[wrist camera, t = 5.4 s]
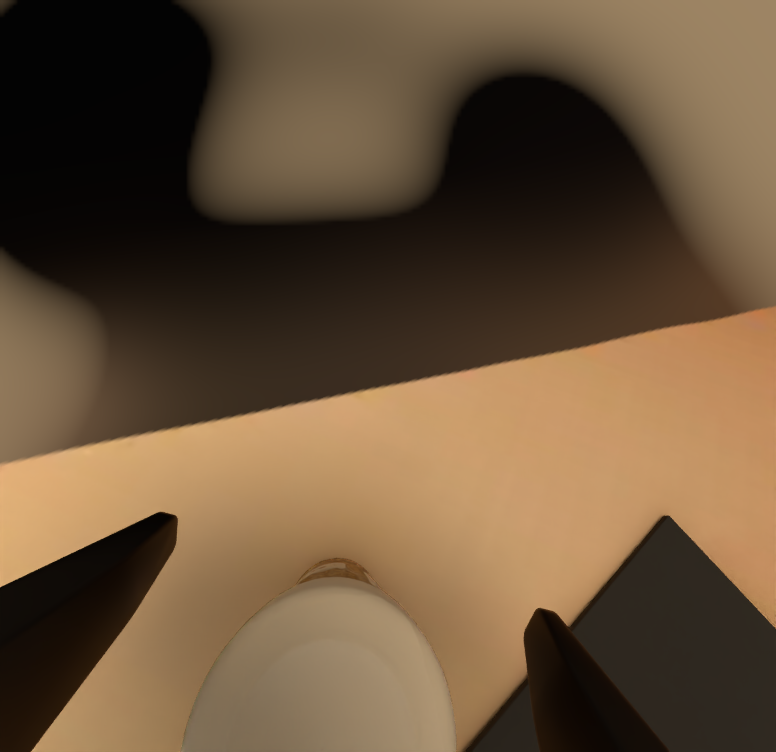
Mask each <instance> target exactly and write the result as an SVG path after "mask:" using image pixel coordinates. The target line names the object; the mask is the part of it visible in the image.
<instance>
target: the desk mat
mask: <svg viewBox="0 0 776 752" xmlns="http://www.w3.org/2000/svg"><path fill="white" fill-rule="evenodd" d="M569 629H570V630H571V632H572V633H573V634H574V635H575V636H576V638H577V639H578V640H579V641H580V643H581V644H582V645H583V646H584V647H585V649H586V650H587V651H588V652H589V653H590V655H591V656H592V657H593V658H594V660H595V661H596V662H597V663H598V664H599V666H600V667H601V668H602V669H603V670H604V672H605V673H606V674H607V675H608V677H609V678H610V679H611V680H612V681H613V683H614V684H615V685H616V686H617V688H618V689H619V690H620V691H621V692H622V694H623V695H624V696H625V697H626V698H627V700H628V701H629V702H630V703H631V705H632V706H633V707H634V708H635V709H636V711H637V712H638V713H639V714H640V715H641V717H642V718H643V719H644V720H645V722H646V723H647V724H648V725H649V726H650V728H651V729H652V730H653V731H654V733H655V734H656V735H657V736H658V737H659V739H660V740H661V741H662V742H663V743H664V745H665V746H666V747H667V748H668V750H669V751H670V752H776V629H775V628H774V626H773V625H772V624H771V623H770V622H769V621H768V620H767V619H766V618H765V617H764V616H763V615H762V614H761V613H760V612H759V611H758V609H757V608H756V607H755V606H754V605H753V604H752V603H751V602H750V601H749V600H748V599H747V598H746V597H745V596H744V595H743V594H742V592H741V591H740V590H739V589H738V588H737V587H736V586H735V585H734V584H733V583H732V582H731V581H730V580H729V579H728V578H727V577H726V576H725V574H724V573H723V572H722V571H721V570H720V569H719V568H718V567H717V566H716V565H715V564H714V563H713V562H712V561H711V560H710V559H709V557H708V556H707V555H706V554H705V553H704V552H703V551H702V550H701V549H700V548H699V547H698V546H697V545H696V544H695V543H694V542H693V540H692V539H691V538H690V537H689V536H688V535H687V534H686V533H685V532H684V531H683V530H682V529H681V528H680V527H679V526H678V525H677V523H676V522H675V521H674V520H673V519H672V518H671V517H670V516H664V517H663V518H662V519H661V520H660V521H659V523H658V524H657V525H656V526H655V527H654V528H653V530H652V531H651V532H650V533H649V534H648V536H647V537H646V538H645V539H644V540H643V541H642V543H641V544H640V545H639V546H638V547H637V549H636V550H635V551H634V552H633V553H632V555H631V556H630V557H629V558H628V559H627V560H626V562H625V563H624V564H623V565H622V566H621V568H620V569H619V570H618V571H617V572H616V574H615V575H614V576H613V577H612V578H611V579H610V581H609V582H608V583H607V584H606V585H605V587H604V588H603V589H602V590H601V591H600V593H599V594H598V595H597V596H596V597H595V598H594V600H593V601H592V602H591V603H590V604H589V606H588V607H587V608H586V609H585V610H584V611H583V613H582V614H581V615H580V616H579V617H578V619H577V620H576V621H575V622H574V623H573V625H572V626H571V627H570V628H569ZM466 752H540V750H539V745H538V740H537V735H536V730H535V725H534V720H533V713H532V706H531V698H530V690H529V681H528V678H527V679H526V680H525V681H524V683H523V684H522V685H521V686H520V687H519V689H518V690H517V691H516V692H515V693H514V695H513V696H512V697H511V698H510V699H509V700H508V702H507V703H506V704H505V705H504V706H503V708H502V709H501V710H500V711H499V712H498V714H497V715H496V716H495V717H494V718H493V719H492V721H491V722H490V723H489V724H488V725H487V727H486V728H485V729H484V730H483V731H482V733H481V734H480V735H479V736H478V737H477V738H476V740H475V741H474V742H473V743H472V744H471V746H470V747H469V748H468V749H467V750H466Z"/></svg>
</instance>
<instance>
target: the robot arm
mask: <svg viewBox="0 0 776 752" xmlns="http://www.w3.org/2000/svg"><path fill="white" fill-rule="evenodd" d="M177 526H178V518H177V516H175V515H172V514H168V513H165V512H158V513H156V514H154V515H151V516H149V517H147V518H145V519H143V520H141V521H139V522H137V523H135V524H133V525H130V526H128V527H126V528H124V529H122V530H120V531H118V532H116V533H114V534H111V535H109V536H107V537H105V538H103V539H101V540H99V541H97V542H95V543H93V544H90V545H88V546H86V547H84V548H82V549H80V550H78V551H76V552H74V553H71V554H69V555H67V556H65V557H63V558H61V559H59V560H57V561H55V562H53V563H50V564H48V565H46V566H44V567H42V568H40V569H38V570H36V571H34V572H31V573H29V574H27V575H25V576H23V577H21V578H19V579H17V580H15V581H12V582H10V583H8V584H6V585H4V586H2V587H0V752H31V751H32V749H33V748H34V747H35V745H36V744H37V743H38V742H39V740H40V739H41V738H42V736H43V735H44V734H45V732H46V731H47V730H48V728H49V727H50V726H51V724H52V723H53V722H54V720H55V719H56V718H57V716H58V715H59V714H60V712H61V711H62V710H63V708H64V707H65V706H66V704H67V703H68V702H69V700H70V699H71V698H72V696H73V695H74V694H75V692H76V691H77V690H78V688H79V687H80V686H81V684H82V683H83V682H84V680H85V679H86V678H87V676H88V675H89V674H90V672H91V671H92V670H93V668H94V667H95V666H96V664H97V663H98V662H99V660H100V659H101V658H102V656H103V655H104V654H105V652H106V651H107V650H108V648H109V647H110V646H111V644H112V643H113V642H114V640H115V639H116V638H117V636H118V635H119V634H120V632H121V631H122V630H123V628H124V627H125V626H126V624H127V623H128V622H129V620H130V619H131V617H132V616H133V614H134V613H135V611H136V610H137V608H138V607H139V605H140V604H141V602H142V600H143V599H144V597H145V595H146V594H147V592H148V591H149V589H150V587H151V586H152V584H153V583H154V581H155V579H156V578H157V576H158V575H159V573H160V571H161V570H162V568H163V566H164V565H165V563H166V562H167V560H168V558H169V557H170V555H171V554H172V552H173V550H174V548H175V545H176V541H177ZM524 647H525V656H526V664H527V673H528V681H529V690H530V698H531V706H532V713H533V720H534V725H535V730H536V735H537V740H538V745H539V750H540V752H670V751H669V750H668V748H667V747H666V746H665V745H664V743H663V742H662V741H661V740H660V739H659V737H658V736H657V735H656V734H655V733H654V731H653V730H652V729H651V728H650V726H649V725H648V724H647V723H646V722H645V720H644V719H643V718H642V717H641V715H640V714H639V713H638V712H637V711H636V709H635V708H634V707H633V706H632V705H631V703H630V702H629V701H628V700H627V698H626V697H625V696H624V695H623V694H622V692H621V691H620V690H619V689H618V688H617V686H616V685H615V684H614V683H613V681H612V680H611V679H610V678H609V677H608V675H607V674H606V673H605V672H604V670H603V669H602V668H601V667H600V666H599V664H598V663H597V662H596V661H595V660H594V658H593V657H592V656H591V655H590V653H589V652H588V651H587V650H586V649H585V647H584V646H583V645H582V644H581V643H580V641H579V640H578V639H577V638H576V636H575V635H574V634H573V633H572V632H571V630H570V629H569V628H568V627H567V626H566V624H565V623H564V622H563V621H562V619H561V618H560V617H559V616H558V615H557V614H556V613H555V612H553V611H550V610H546V609H543V608H538V609H536V610H535V612H534V614H533V615H532V617H531V619H530V621H529V623H528V625H527V627H526V629H525V632H524Z"/></svg>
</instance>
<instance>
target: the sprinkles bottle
mask: <svg viewBox="0 0 776 752" xmlns="http://www.w3.org/2000/svg"><path fill="white" fill-rule="evenodd" d="M181 752H456V725H455V718H454V711H453V706H452V701H451V696H450V692H449V688H448V685H447V682H446V679H445V675H444V672H443V670H442V667H441V665H440V663H439V661H438V659H437V657H436V655H435V653H434V651H433V649H432V647H431V645H430V644H429V642H428V640H427V639H426V637H425V636H424V634H423V633H422V631H421V630H420V628H419V627H418V626H417V624H416V623H415V622H414V620H413V619H412V618H411V617H410V616H409V614H408V613H407V612H406V611H405V610H404V609H403V608H402V607H401V606H400V605H399V604H398V603H397V602H396V601H395V600H394V599H393V598H392V597H390V596H389V595H388V594H386V593H385V592H384V591H383V590H382V589H381V588H380V587H379V585H378V584H377V583H376V582H375V581H374V580H373V579H372V578H371V576H370V575H369V574H368V572H367V571H366V570H365V569H364V568H363V567H361V566H360V565H359V564H357V563H355V562H354V561H351V560H348V559H340V558H334V559H329V560H325V561H321V562H319V563H317V564H315V565H314V566H313V567H312V568H310V569H309V570H307V571H306V572H305V573H304V575H303V576H302V577H301V578H300V579H299V581H298V582H297V583H296V585H295V586H294V587H292V588H290V589H288V590H286V591H285V592H283V593H281V594H280V595H278V596H277V597H275V598H274V599H272V600H271V601H270V602H268V603H267V604H266V605H265V606H264V607H262V608H261V609H260V610H259V611H258V612H257V613H256V614H255V615H254V616H252V617H251V618H250V619H249V620H248V621H247V622H246V623H245V624H244V625H243V626H242V628H241V629H240V630H239V631H238V632H237V633H236V634H235V636H234V637H233V638H232V639H231V640H230V642H229V643H228V644H227V645H226V646H225V648H224V649H223V651H222V652H221V653H220V655H219V656H218V658H217V659H216V661H215V662H214V664H213V666H212V667H211V669H210V671H209V672H208V674H207V676H206V678H205V680H204V682H203V684H202V686H201V688H200V690H199V692H198V695H197V697H196V700H195V702H194V704H193V707H192V710H191V714H190V717H189V720H188V723H187V726H186V730H185V733H184V738H183V742H182V747H181Z"/></svg>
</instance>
